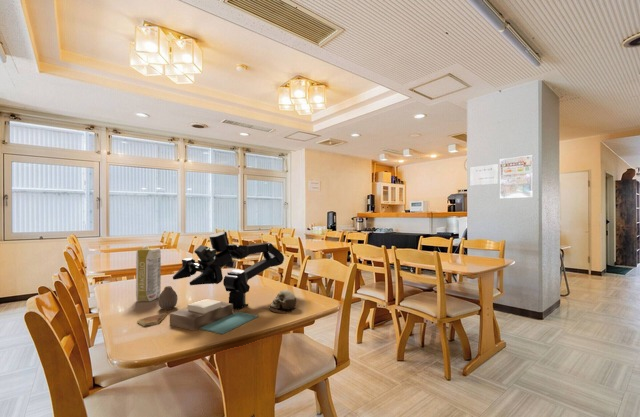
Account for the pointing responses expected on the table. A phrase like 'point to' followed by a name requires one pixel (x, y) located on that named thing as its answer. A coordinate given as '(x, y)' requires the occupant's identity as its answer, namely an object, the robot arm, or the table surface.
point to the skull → (284, 302)
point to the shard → (152, 319)
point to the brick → (199, 317)
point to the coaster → (204, 306)
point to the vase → (168, 298)
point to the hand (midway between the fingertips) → (181, 281)
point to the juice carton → (148, 273)
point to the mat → (229, 322)
